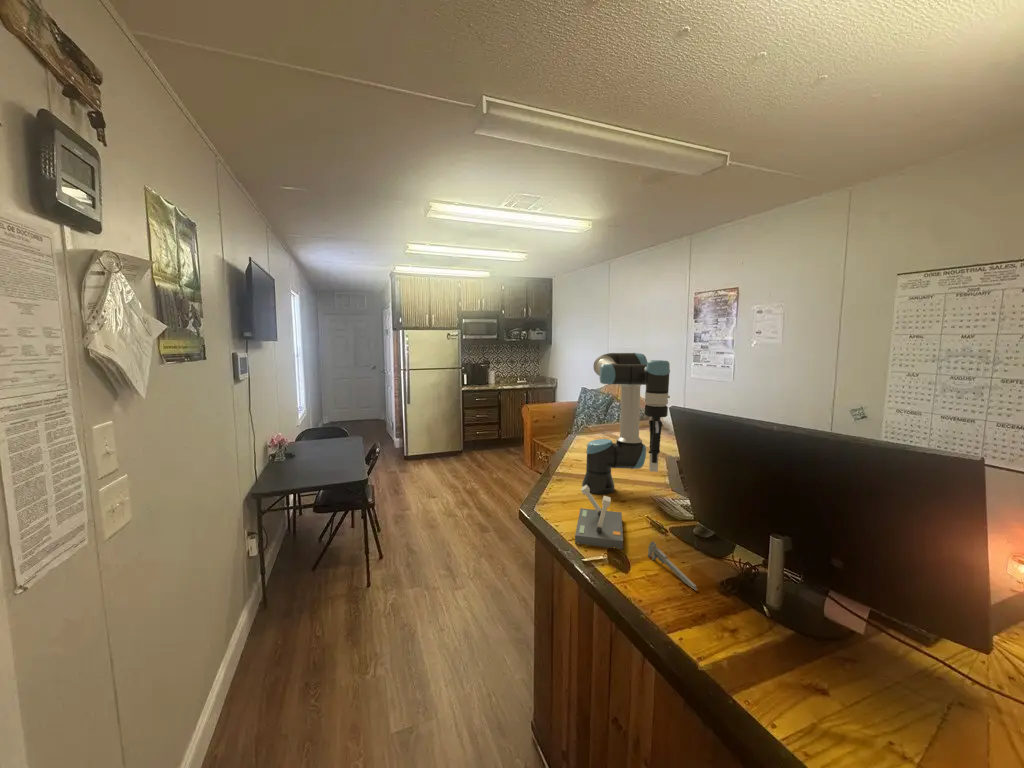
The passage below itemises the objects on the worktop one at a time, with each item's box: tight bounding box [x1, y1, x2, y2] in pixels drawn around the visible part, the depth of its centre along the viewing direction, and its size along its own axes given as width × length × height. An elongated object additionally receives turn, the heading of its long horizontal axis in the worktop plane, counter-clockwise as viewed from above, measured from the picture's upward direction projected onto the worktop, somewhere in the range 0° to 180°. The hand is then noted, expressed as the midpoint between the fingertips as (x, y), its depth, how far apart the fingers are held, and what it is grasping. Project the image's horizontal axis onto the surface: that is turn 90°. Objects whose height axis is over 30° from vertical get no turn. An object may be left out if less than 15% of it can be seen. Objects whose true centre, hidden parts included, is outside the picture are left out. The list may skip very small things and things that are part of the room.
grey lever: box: [597, 495, 612, 533], centre depth 143 cm, size 4×2×12 cm, turn 166°
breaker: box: [580, 485, 602, 516], centre depth 158 cm, size 4×2×12 cm
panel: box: [574, 507, 624, 550], centre depth 151 cm, size 24×16×3 cm, turn 166°
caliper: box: [647, 540, 698, 591], centre depth 123 cm, size 20×1×6 cm, turn 21°
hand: (653, 470), depth 144 cm, fingers closed
